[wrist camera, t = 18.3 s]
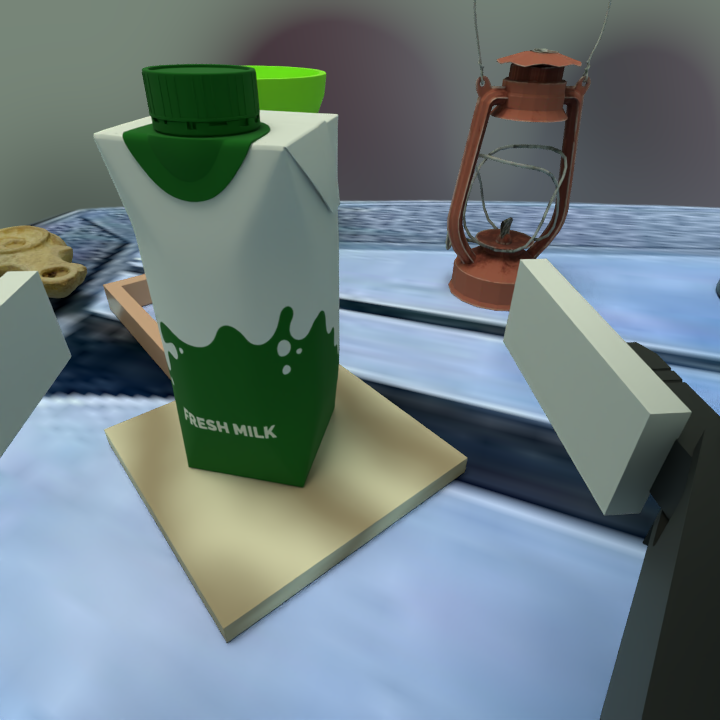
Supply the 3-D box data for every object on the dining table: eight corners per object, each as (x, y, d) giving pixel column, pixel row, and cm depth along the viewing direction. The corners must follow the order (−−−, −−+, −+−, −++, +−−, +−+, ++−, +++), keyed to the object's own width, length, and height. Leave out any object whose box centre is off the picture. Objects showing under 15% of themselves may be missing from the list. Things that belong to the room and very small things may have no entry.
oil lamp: (71, 322, 45) (53, 270, 42) (-65, 305, 47) (-91, 254, 44) (137, 273, 53) (125, 227, 50) (19, 260, 55) (2, 216, 53)
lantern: (515, 322, 46) (616, -125, 29) (424, 288, 51) (463, -105, 34) (558, 287, 52) (661, -98, 35) (472, 260, 58) (526, -84, 41)
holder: (247, 270, 54) (244, 248, 53) (326, 322, 45) (325, 297, 44) (110, 309, 46) (103, 284, 45) (172, 381, 37) (166, 354, 36)
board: (313, 357, 41) (312, 344, 40) (464, 471, 30) (467, 458, 30) (109, 443, 32) (104, 429, 31) (227, 643, 22) (223, 628, 21)
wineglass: (215, 214, 69) (193, 64, 59) (330, 215, 70) (327, 67, 60) (186, 260, 56) (151, 77, 46) (327, 260, 57) (324, 80, 47)
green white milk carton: (165, 477, 28) (46, 68, 17) (232, 383, 35) (179, 54, 24) (315, 504, 27) (294, 79, 15) (352, 400, 34) (356, 60, 23)
